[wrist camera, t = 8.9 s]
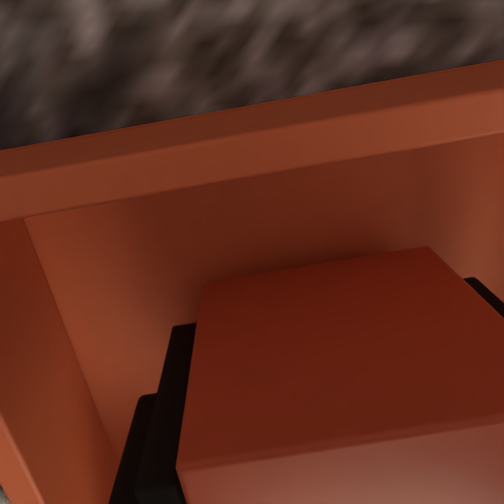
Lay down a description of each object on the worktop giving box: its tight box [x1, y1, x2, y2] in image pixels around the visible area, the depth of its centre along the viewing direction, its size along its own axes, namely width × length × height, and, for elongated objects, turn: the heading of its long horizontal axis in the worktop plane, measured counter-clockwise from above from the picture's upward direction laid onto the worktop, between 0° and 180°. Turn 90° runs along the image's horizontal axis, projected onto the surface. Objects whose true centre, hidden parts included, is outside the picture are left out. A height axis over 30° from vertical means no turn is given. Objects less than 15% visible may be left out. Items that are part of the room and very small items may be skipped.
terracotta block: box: [176, 246, 504, 504], centre depth 8 cm, size 4×4×4 cm
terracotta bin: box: [0, 59, 504, 504], centre depth 9 cm, size 12×10×4 cm
